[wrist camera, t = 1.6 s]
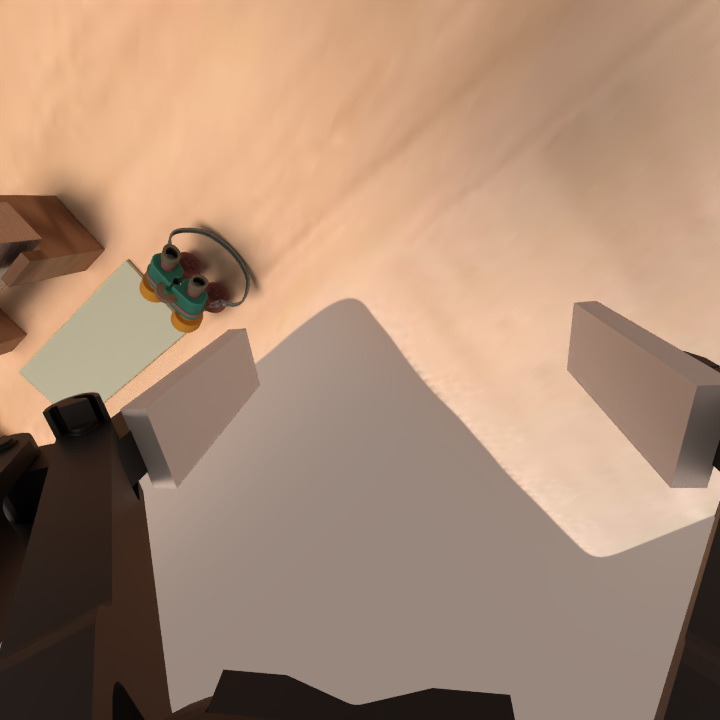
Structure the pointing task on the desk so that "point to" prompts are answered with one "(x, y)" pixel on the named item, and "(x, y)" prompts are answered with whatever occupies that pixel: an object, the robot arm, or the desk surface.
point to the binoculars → (186, 284)
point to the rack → (45, 251)
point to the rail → (14, 238)
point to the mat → (104, 341)
